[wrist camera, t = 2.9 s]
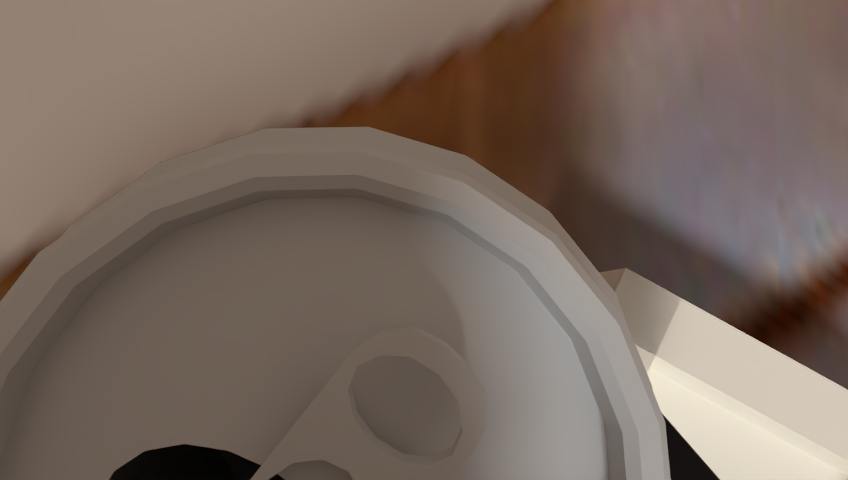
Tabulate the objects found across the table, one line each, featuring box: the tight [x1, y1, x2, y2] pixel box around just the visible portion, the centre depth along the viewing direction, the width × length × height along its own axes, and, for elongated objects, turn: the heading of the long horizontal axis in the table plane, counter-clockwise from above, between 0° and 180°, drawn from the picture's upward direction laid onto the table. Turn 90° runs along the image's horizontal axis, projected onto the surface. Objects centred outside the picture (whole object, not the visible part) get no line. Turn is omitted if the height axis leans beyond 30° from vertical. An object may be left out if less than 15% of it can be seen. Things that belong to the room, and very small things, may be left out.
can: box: [0, 127, 671, 480], centre depth 11 cm, size 8×8×12 cm
